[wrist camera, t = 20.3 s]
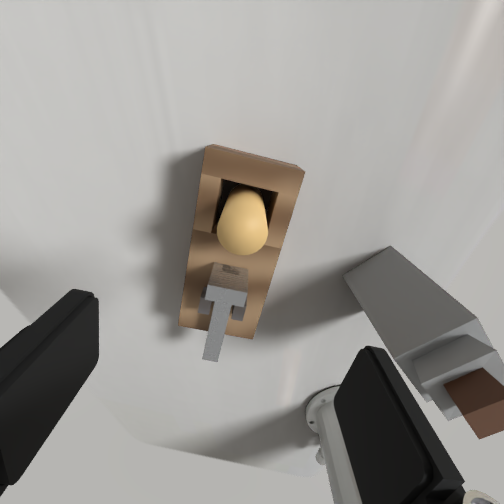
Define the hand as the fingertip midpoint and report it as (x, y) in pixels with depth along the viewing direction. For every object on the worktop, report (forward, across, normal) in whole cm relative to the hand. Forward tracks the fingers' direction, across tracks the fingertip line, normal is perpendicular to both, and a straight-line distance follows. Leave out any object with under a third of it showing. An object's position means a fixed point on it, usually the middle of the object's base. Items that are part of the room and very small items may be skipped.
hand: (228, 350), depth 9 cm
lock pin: (+17, 0, +12) cm, 21 cm away
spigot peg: (+22, 0, 0) cm, 22 cm away
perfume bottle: (+22, -19, +6) cm, 30 cm away
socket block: (+22, 0, +5) cm, 23 cm away
